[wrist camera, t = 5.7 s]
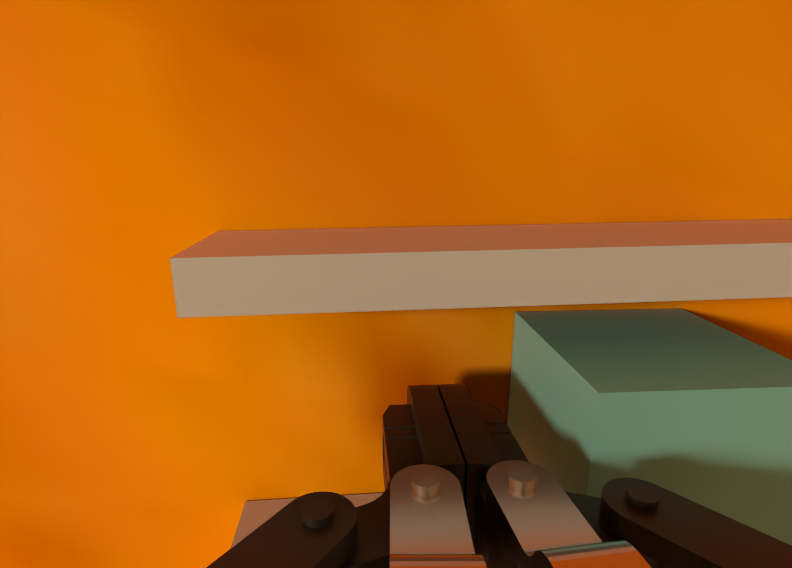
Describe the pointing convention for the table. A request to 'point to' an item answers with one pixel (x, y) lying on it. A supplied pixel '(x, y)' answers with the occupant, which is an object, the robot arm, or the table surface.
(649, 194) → the table surface
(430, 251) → the grey channel
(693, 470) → the teal block
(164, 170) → the table surface
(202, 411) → the table surface
